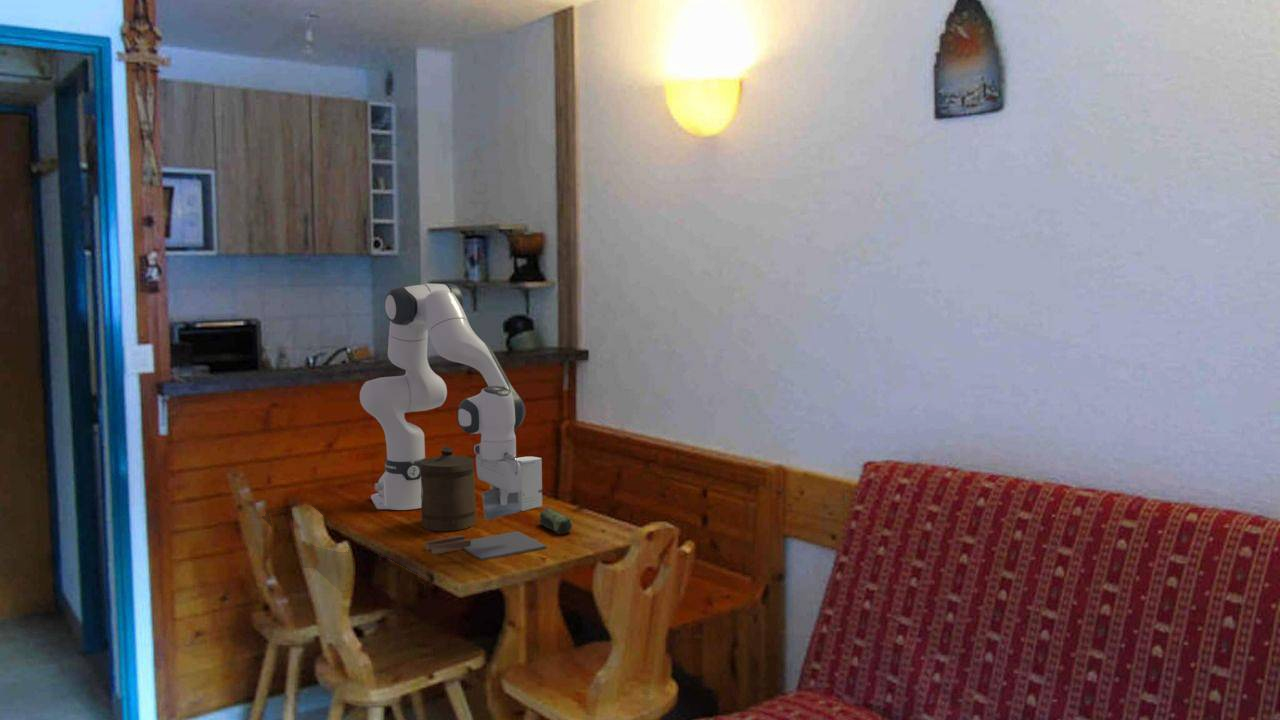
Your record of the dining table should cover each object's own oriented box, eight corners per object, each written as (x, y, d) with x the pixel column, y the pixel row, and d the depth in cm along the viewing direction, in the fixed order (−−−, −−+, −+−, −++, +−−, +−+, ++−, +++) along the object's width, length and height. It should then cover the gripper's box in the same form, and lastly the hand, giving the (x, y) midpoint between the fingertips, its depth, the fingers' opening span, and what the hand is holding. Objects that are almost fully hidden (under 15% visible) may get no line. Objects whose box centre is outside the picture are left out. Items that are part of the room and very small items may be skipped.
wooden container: (444, 514, 289) (442, 439, 286) (486, 521, 282) (484, 444, 279) (410, 527, 276) (408, 449, 273) (453, 534, 269) (451, 454, 266)
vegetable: (575, 534, 269) (575, 516, 269) (558, 537, 266) (557, 519, 266) (552, 522, 281) (551, 504, 280) (535, 525, 278) (535, 507, 278)
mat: (455, 544, 260) (455, 542, 260) (518, 533, 270) (518, 531, 270) (481, 560, 247) (481, 558, 246) (546, 548, 256) (546, 545, 256)
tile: (484, 518, 256) (481, 492, 255) (515, 510, 260) (513, 484, 259) (487, 520, 254) (484, 493, 253) (519, 511, 259) (516, 485, 258)
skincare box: (521, 511, 291) (521, 461, 290) (508, 508, 295) (507, 458, 294) (543, 506, 297) (542, 457, 296) (530, 502, 301) (529, 454, 300)
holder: (425, 549, 256) (425, 541, 256) (461, 542, 262) (461, 535, 261) (433, 554, 251) (433, 546, 251) (470, 547, 257) (470, 540, 257)
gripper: (528, 455, 248) (529, 509, 250) (493, 442, 265) (494, 493, 267) (505, 458, 245) (506, 513, 246) (471, 445, 262) (472, 497, 263)
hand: (500, 503), depth 257 cm, fingers closed on tile, 2 cm apart
